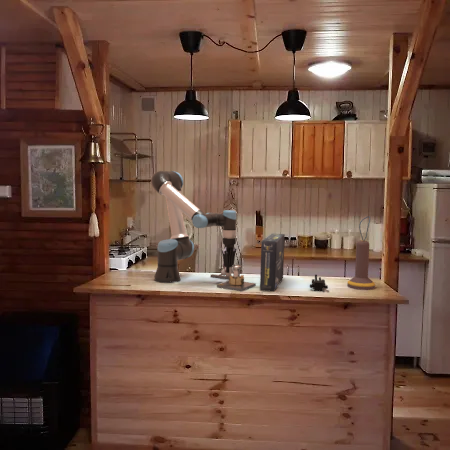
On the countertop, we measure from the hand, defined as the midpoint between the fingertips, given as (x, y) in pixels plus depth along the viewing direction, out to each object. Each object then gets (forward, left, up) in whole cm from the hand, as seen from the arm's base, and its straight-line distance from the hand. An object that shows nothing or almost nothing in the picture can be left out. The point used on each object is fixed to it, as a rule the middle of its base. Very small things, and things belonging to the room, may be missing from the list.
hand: (228, 278), depth 277 cm
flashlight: (+67, +35, -3) cm, 75 cm away
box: (+23, +11, -3) cm, 25 cm away
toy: (+45, +24, -3) cm, 51 cm away
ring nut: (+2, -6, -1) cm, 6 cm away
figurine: (-11, +15, -3) cm, 19 cm away
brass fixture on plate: (+9, -6, -3) cm, 11 cm away
